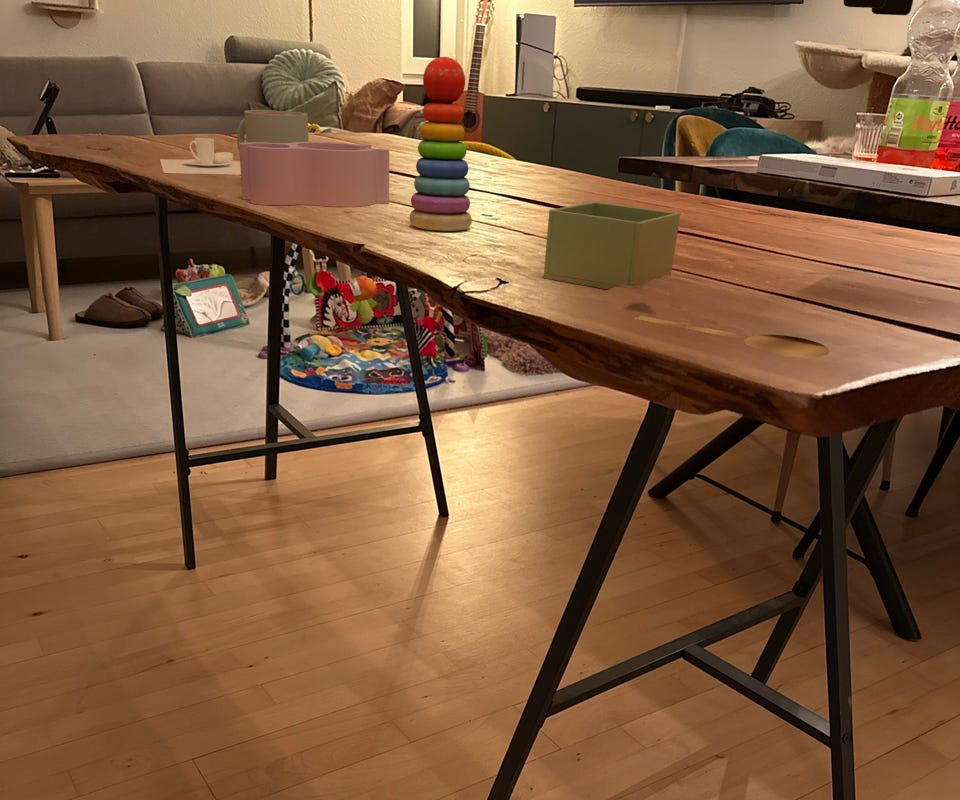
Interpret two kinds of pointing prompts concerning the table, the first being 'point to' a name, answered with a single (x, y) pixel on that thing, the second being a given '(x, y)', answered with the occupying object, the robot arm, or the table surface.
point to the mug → (273, 127)
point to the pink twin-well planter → (314, 174)
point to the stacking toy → (442, 153)
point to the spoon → (761, 341)
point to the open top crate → (609, 244)
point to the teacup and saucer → (203, 161)
